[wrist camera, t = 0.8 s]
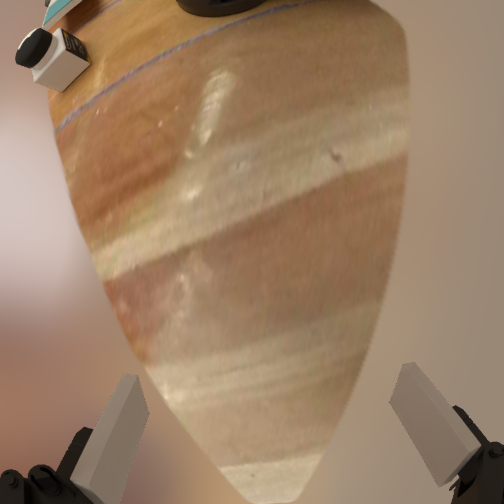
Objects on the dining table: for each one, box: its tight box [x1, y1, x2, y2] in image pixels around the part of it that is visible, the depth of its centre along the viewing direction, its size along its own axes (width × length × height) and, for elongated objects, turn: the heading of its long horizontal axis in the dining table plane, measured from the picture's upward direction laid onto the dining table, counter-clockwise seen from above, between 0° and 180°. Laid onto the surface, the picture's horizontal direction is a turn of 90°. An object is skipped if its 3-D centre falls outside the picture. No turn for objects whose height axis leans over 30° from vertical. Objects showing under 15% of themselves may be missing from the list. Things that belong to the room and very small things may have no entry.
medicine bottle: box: [15, 28, 91, 92], centre depth 24 cm, size 7×7×12 cm
